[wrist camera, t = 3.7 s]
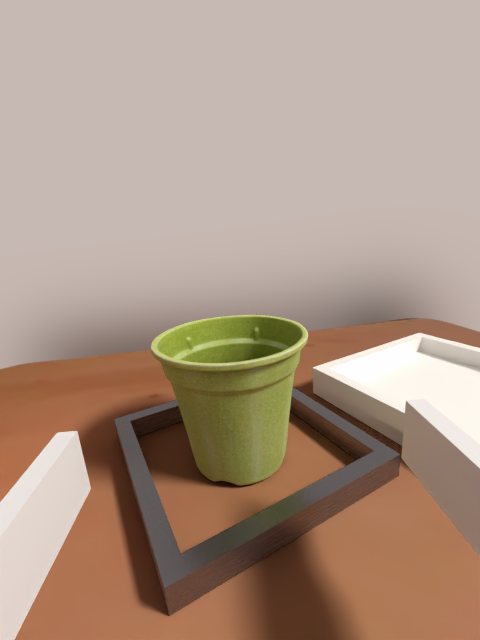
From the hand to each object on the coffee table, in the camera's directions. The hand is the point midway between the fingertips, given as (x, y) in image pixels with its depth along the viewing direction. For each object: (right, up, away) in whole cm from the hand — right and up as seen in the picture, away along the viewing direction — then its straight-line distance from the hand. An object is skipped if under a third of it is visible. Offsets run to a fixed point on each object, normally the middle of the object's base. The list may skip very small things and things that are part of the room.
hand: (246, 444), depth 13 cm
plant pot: (0, -4, +9) cm, 10 cm away
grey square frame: (0, -4, +9) cm, 10 cm away
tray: (+16, -2, +13) cm, 21 cm away
